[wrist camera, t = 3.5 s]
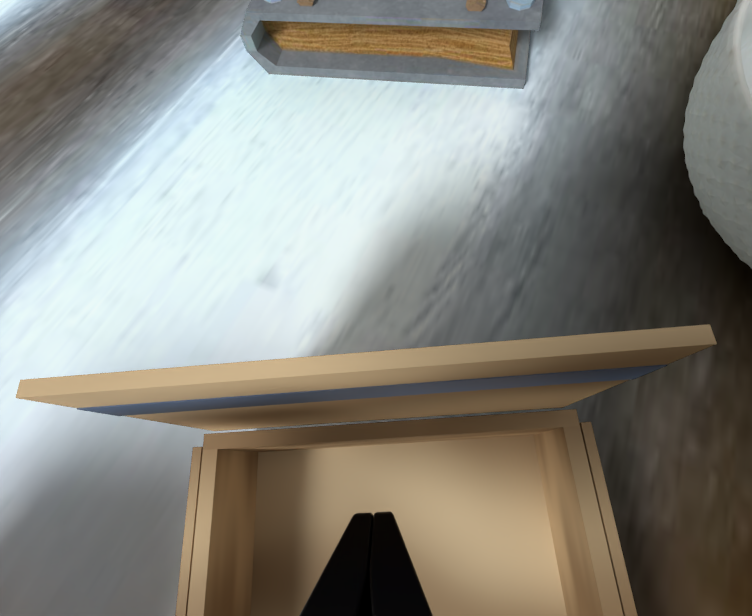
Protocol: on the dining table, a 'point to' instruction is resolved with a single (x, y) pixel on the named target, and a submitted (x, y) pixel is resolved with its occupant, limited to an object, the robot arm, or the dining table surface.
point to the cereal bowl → (724, 132)
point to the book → (395, 39)
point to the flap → (377, 381)
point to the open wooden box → (408, 515)
